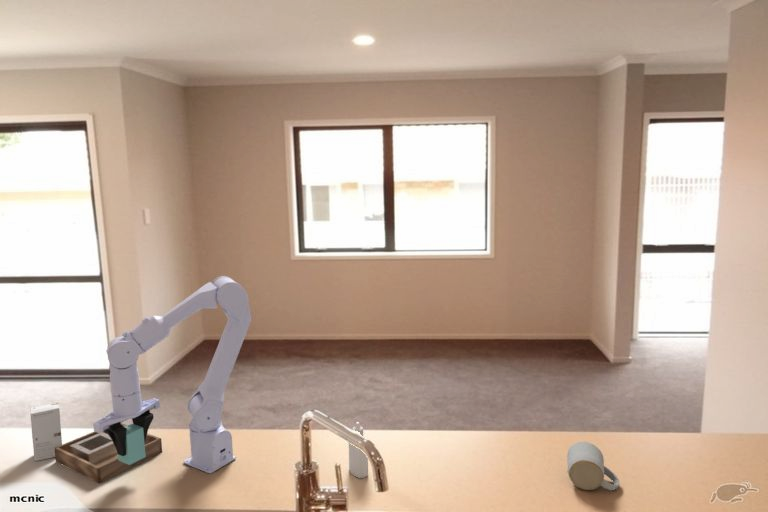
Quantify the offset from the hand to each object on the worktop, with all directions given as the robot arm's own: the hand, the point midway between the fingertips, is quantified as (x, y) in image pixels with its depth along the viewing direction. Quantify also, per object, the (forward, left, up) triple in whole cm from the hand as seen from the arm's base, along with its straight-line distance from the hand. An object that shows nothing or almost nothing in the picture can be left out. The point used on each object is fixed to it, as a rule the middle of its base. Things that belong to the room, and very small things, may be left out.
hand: (131, 449), depth 119 cm
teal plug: (0, 0, -2) cm, 2 cm away
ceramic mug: (-88, -50, -7) cm, 102 cm away
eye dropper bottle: (-42, -28, -7) cm, 51 cm away
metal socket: (+16, -1, -7) cm, 18 cm away
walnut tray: (+14, -3, -7) cm, 16 cm away
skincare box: (+28, +4, -7) cm, 29 cm away
